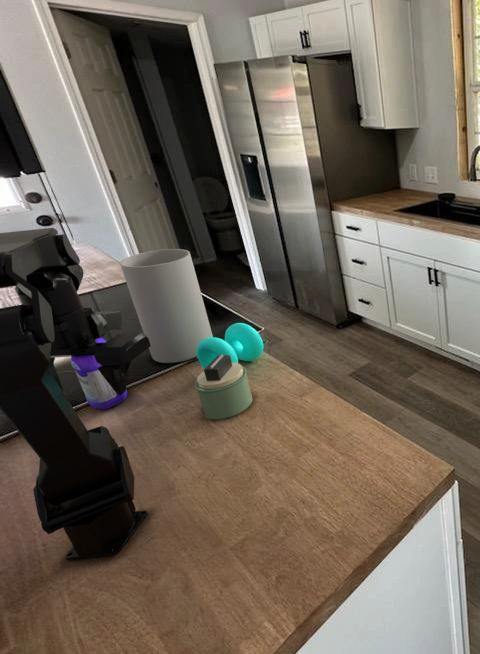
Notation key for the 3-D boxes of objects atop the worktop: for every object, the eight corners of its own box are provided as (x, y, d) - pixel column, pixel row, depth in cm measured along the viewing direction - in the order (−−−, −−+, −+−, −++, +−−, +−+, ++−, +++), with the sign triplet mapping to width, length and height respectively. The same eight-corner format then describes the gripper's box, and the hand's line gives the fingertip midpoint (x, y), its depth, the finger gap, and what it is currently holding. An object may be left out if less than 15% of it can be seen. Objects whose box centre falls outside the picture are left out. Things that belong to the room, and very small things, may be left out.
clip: (220, 380, 80) (216, 367, 79) (206, 381, 80) (202, 368, 79) (232, 365, 85) (229, 353, 84) (220, 366, 85) (216, 353, 83)
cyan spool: (269, 360, 101) (261, 324, 97) (233, 384, 92) (223, 345, 88) (237, 353, 103) (228, 317, 100) (199, 375, 94) (188, 337, 91)
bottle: (83, 403, 85) (51, 329, 78) (118, 388, 90) (90, 317, 83) (99, 415, 82) (67, 339, 75) (134, 398, 86) (107, 326, 80)
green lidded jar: (241, 418, 82) (232, 385, 79) (194, 421, 81) (183, 388, 78) (260, 390, 90) (253, 359, 87) (217, 393, 89) (208, 362, 86)
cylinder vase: (213, 355, 102) (187, 261, 93) (148, 370, 96) (113, 270, 87) (215, 333, 112) (191, 246, 103) (156, 345, 105) (126, 253, 96)
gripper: (158, 287, 71) (182, 364, 77) (35, 290, 68) (70, 369, 74) (108, 317, 61) (140, 403, 66) (-39, 322, 58) (8, 411, 64)
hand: (91, 395), depth 68 cm, fingers open, 9 cm apart
